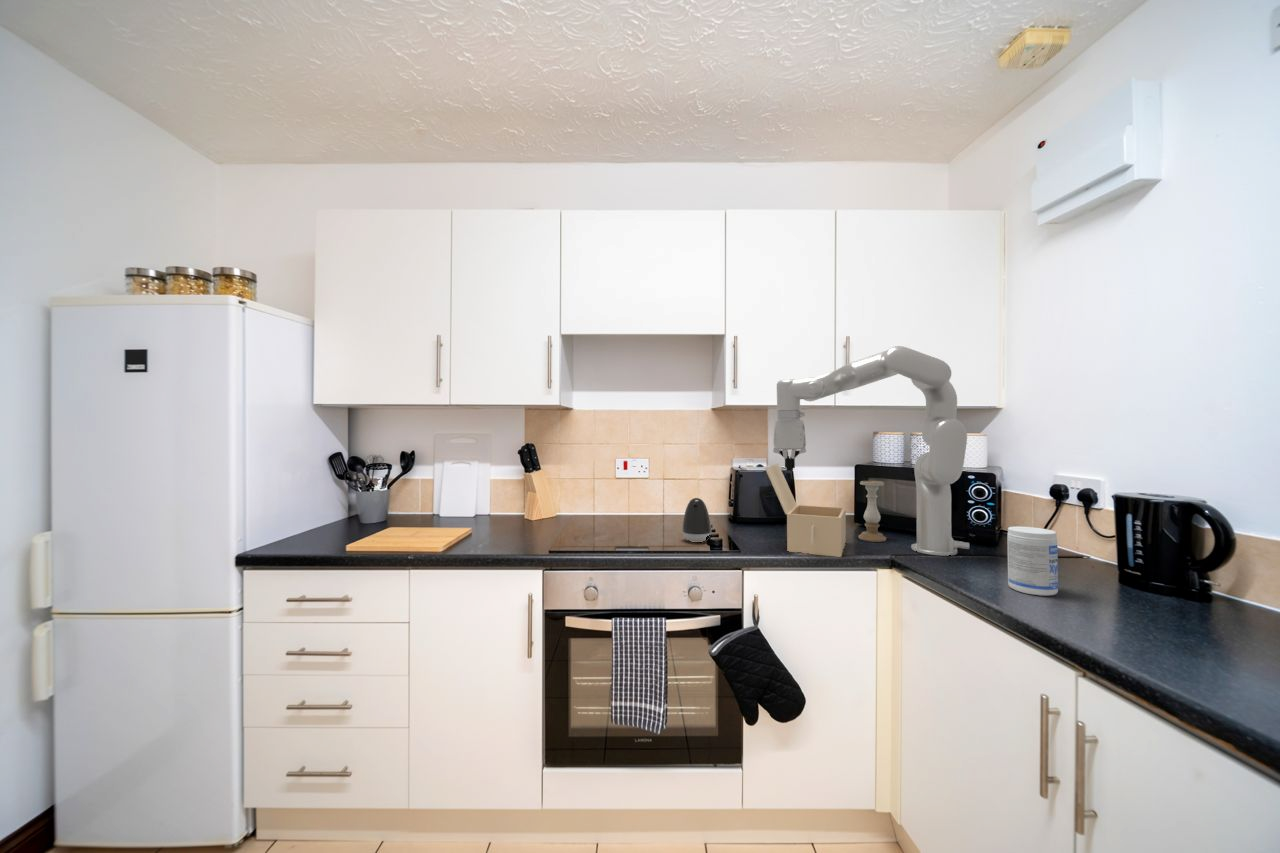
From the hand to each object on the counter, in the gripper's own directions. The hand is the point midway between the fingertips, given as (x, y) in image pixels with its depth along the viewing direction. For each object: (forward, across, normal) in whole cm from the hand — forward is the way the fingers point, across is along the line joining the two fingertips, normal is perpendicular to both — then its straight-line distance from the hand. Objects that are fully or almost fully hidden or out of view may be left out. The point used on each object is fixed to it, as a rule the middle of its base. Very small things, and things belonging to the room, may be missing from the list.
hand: (789, 470), depth 167 cm
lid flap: (+6, +3, 0) cm, 6 cm away
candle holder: (+26, -24, -20) cm, 41 cm away
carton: (+25, -8, +2) cm, 27 cm away
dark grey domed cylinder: (+25, +31, +9) cm, 41 cm away
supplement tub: (+26, -60, +23) cm, 70 cm away
